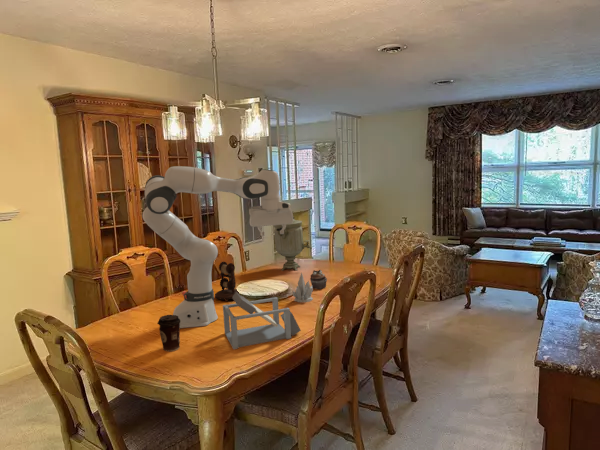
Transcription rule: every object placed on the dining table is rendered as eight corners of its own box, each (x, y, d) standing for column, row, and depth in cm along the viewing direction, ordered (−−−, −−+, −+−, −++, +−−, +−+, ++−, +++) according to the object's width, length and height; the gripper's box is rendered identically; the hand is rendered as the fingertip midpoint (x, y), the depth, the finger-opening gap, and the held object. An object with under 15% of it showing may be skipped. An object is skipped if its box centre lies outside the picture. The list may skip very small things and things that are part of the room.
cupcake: (313, 290, 237) (312, 273, 236) (308, 285, 246) (308, 269, 245) (329, 288, 239) (328, 271, 238) (324, 284, 249) (323, 267, 247)
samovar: (297, 276, 270) (294, 214, 264) (265, 272, 284) (262, 213, 279) (320, 266, 294) (318, 210, 289) (290, 263, 308) (287, 209, 303)
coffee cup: (160, 354, 160) (157, 322, 158) (158, 346, 168) (155, 315, 166) (183, 350, 164) (181, 318, 162) (180, 342, 171) (178, 312, 169)
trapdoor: (238, 306, 164) (242, 300, 164) (231, 297, 176) (235, 291, 176) (274, 330, 170) (278, 324, 171) (265, 320, 182) (269, 314, 183)
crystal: (317, 296, 225) (316, 269, 223) (306, 304, 213) (305, 275, 211) (301, 294, 230) (300, 268, 228) (289, 301, 218) (288, 274, 216)
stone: (283, 318, 171) (292, 335, 173) (291, 312, 172) (300, 330, 174) (280, 315, 174) (289, 332, 177) (288, 310, 176) (297, 327, 178)
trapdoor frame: (233, 349, 162) (231, 318, 161) (224, 333, 179) (222, 305, 177) (291, 338, 171) (289, 309, 169) (277, 323, 187) (276, 297, 186)
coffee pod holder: (247, 297, 229) (245, 261, 227) (225, 303, 219) (222, 266, 216) (231, 292, 240) (229, 258, 237) (209, 298, 229) (207, 263, 227)
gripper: (250, 207, 184) (252, 237, 186) (293, 204, 191) (295, 233, 193) (247, 206, 190) (248, 236, 192) (289, 203, 197) (290, 232, 199)
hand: (272, 235), depth 192 cm, fingers open, 8 cm apart
